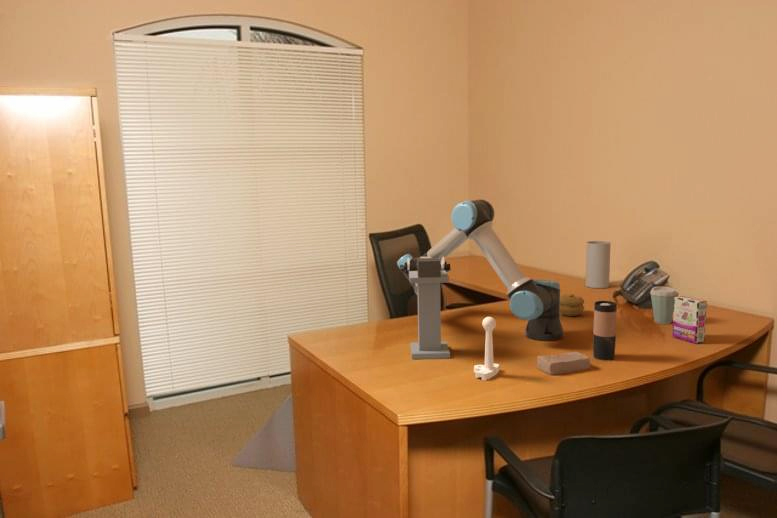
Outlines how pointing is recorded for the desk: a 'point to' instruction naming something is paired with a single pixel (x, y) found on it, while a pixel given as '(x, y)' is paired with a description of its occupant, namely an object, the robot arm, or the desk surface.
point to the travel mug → (604, 330)
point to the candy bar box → (689, 319)
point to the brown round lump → (571, 305)
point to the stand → (429, 318)
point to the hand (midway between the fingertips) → (426, 260)
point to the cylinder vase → (597, 264)
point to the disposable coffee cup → (663, 304)
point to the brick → (563, 363)
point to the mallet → (428, 267)
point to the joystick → (487, 353)
